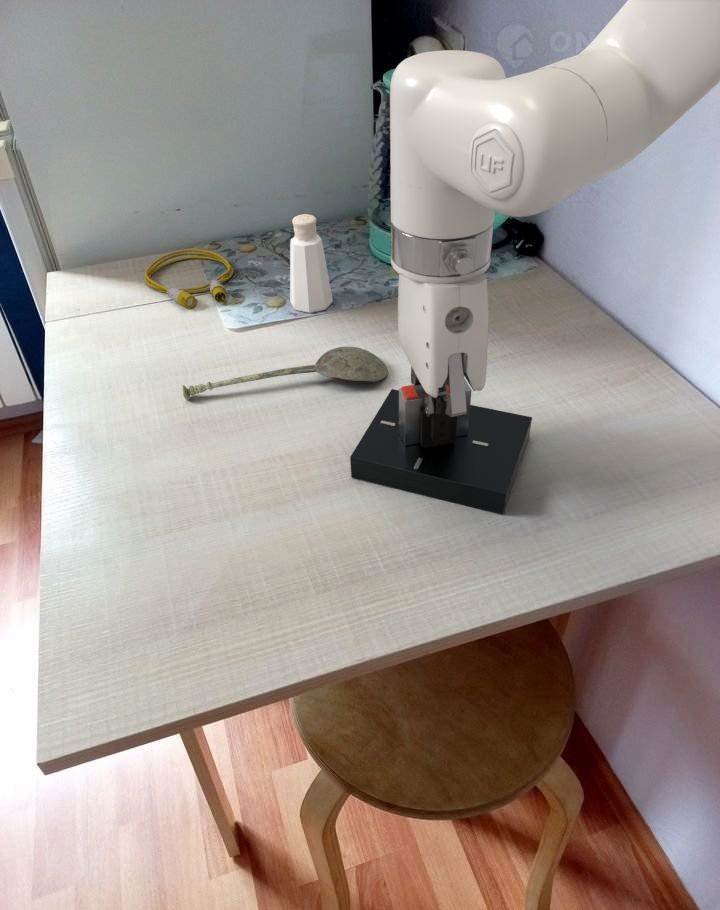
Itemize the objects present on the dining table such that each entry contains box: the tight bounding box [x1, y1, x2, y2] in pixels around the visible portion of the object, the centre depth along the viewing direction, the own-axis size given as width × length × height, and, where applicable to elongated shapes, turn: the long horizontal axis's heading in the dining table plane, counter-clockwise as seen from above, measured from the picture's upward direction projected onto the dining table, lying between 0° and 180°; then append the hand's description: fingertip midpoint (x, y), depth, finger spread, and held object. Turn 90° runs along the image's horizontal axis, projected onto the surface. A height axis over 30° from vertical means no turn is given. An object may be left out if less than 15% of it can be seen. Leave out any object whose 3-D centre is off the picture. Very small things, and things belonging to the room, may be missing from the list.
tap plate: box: [349, 388, 533, 515], centre depth 65 cm, size 14×11×3 cm
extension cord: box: [144, 248, 235, 310], centre depth 94 cm, size 12×16×2 cm
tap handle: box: [398, 378, 473, 446], centre depth 63 cm, size 6×2×5 cm, turn 103°
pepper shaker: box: [289, 213, 334, 314], centre depth 86 cm, size 5×5×11 cm
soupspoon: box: [181, 346, 389, 402], centre depth 75 cm, size 22×3×7 cm
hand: (432, 432), depth 65 cm, fingers closed on tap handle, 2 cm apart
